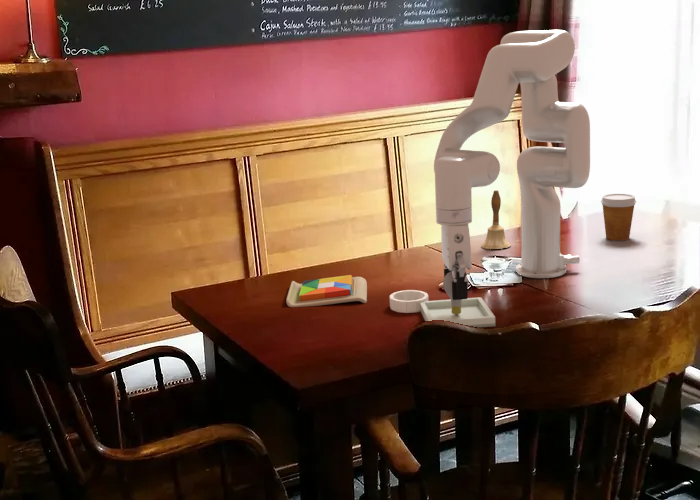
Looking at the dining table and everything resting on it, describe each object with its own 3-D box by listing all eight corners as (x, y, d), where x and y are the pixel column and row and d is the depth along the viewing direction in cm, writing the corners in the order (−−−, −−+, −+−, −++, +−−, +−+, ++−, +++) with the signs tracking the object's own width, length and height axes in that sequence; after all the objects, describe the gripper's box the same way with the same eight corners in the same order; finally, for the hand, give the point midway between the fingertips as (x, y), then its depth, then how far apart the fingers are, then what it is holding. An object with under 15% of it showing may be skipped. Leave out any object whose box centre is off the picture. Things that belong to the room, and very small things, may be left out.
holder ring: (425, 299, 207) (424, 288, 206) (430, 311, 199) (430, 300, 198) (388, 302, 206) (388, 291, 206) (392, 313, 198) (392, 302, 197)
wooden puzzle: (292, 287, 224) (291, 274, 223) (367, 284, 223) (366, 270, 222) (285, 309, 207) (284, 295, 206) (366, 306, 206) (366, 291, 206)
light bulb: (468, 319, 190) (467, 275, 187) (442, 319, 191) (441, 275, 188) (470, 310, 195) (469, 267, 192) (445, 310, 196) (443, 267, 194)
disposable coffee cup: (639, 241, 248) (640, 199, 245) (605, 242, 248) (606, 200, 245) (629, 233, 257) (630, 192, 254) (596, 235, 257) (597, 194, 254)
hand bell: (489, 241, 256) (488, 187, 252) (515, 244, 251) (515, 189, 247) (475, 248, 250) (474, 192, 246) (502, 251, 245) (502, 194, 241)
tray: (481, 305, 200) (481, 297, 200) (495, 326, 187) (495, 317, 186) (419, 310, 200) (419, 301, 199) (429, 330, 186) (429, 321, 186)
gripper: (480, 222, 179) (481, 303, 184) (463, 205, 196) (465, 280, 200) (443, 225, 179) (445, 306, 183) (429, 208, 196) (432, 282, 200)
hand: (455, 292), depth 192 cm, fingers open, 9 cm apart
